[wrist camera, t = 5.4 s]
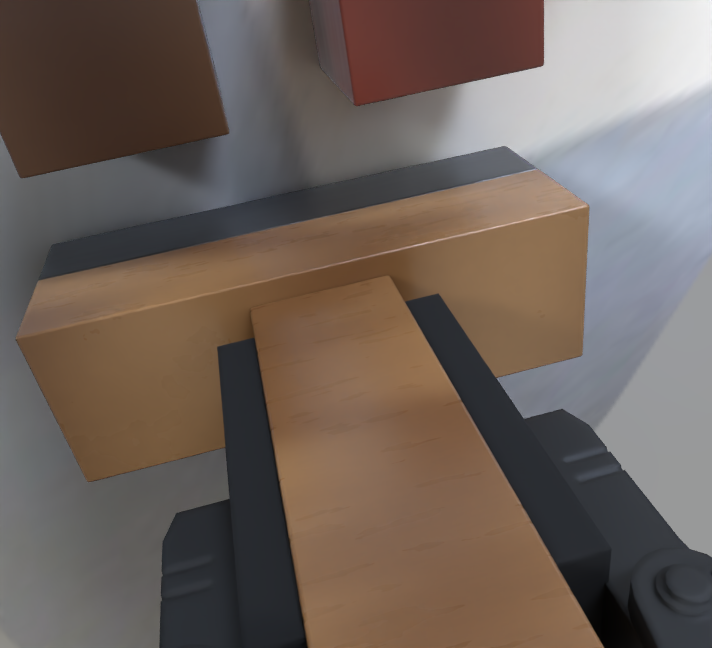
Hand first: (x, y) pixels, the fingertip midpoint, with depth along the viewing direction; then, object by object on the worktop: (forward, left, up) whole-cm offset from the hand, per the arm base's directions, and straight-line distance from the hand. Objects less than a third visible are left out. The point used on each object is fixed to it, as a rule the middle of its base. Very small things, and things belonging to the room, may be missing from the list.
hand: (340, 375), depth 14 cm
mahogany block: (+4, +7, -6) cm, 10 cm away
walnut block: (-3, +7, -6) cm, 10 cm away
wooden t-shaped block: (0, 0, -6) cm, 6 cm away
